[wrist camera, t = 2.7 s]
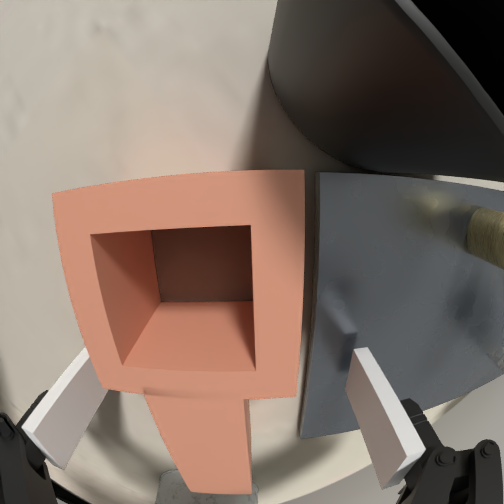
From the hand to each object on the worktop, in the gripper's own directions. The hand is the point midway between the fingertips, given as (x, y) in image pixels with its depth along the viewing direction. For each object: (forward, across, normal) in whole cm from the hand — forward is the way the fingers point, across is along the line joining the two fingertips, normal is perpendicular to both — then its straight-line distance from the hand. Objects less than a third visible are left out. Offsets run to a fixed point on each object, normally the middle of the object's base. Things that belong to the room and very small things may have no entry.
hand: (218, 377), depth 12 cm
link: (+1, 0, +1) cm, 2 cm away
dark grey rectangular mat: (+2, +16, +1) cm, 16 cm away
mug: (+2, +8, +15) cm, 17 cm away
